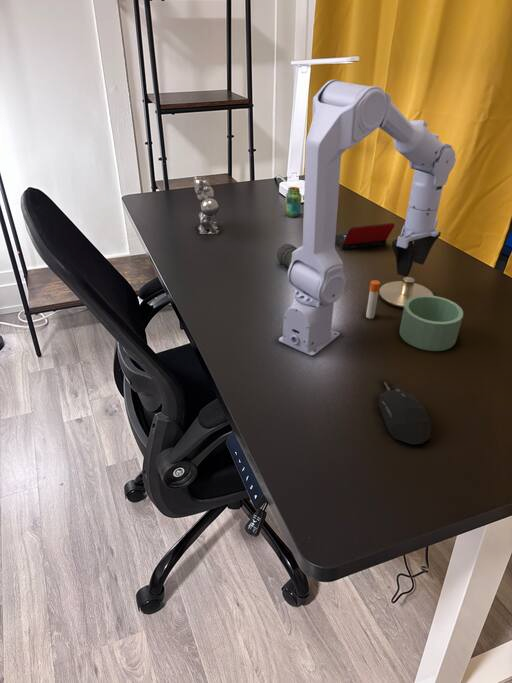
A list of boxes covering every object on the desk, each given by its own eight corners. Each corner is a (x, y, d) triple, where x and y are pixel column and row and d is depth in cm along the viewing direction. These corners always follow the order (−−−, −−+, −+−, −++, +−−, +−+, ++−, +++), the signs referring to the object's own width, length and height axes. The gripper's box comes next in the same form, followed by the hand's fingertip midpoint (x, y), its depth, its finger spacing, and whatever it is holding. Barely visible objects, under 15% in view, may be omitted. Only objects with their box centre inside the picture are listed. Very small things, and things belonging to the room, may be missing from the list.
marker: (371, 320, 102) (377, 285, 98) (363, 316, 103) (368, 282, 99) (376, 316, 104) (381, 281, 99) (368, 313, 105) (373, 279, 100)
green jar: (282, 213, 152) (283, 187, 148) (295, 211, 154) (296, 185, 150) (289, 218, 149) (290, 191, 145) (303, 216, 151) (304, 189, 146)
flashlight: (274, 264, 124) (274, 243, 121) (293, 260, 126) (294, 239, 123) (305, 290, 112) (306, 269, 109) (325, 286, 114) (327, 264, 111)
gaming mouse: (402, 382, 86) (406, 363, 84) (436, 446, 74) (442, 426, 71) (366, 384, 85) (369, 366, 83) (395, 449, 73) (399, 429, 71)
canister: (442, 358, 92) (449, 330, 88) (389, 337, 97) (394, 310, 94) (464, 333, 98) (471, 307, 95) (413, 315, 104) (419, 289, 101)
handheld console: (373, 234, 139) (377, 208, 135) (391, 250, 131) (396, 223, 127) (331, 239, 137) (333, 212, 133) (346, 255, 128) (350, 227, 124)
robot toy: (223, 241, 135) (221, 186, 127) (200, 243, 134) (197, 187, 126) (215, 221, 147) (213, 169, 139) (194, 223, 146) (191, 171, 137)
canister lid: (418, 317, 103) (423, 298, 101) (368, 299, 109) (371, 281, 107) (441, 296, 111) (446, 278, 108) (393, 280, 117) (396, 262, 114)
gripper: (427, 220, 92) (413, 286, 99) (457, 201, 101) (442, 262, 109) (391, 212, 95) (381, 276, 103) (424, 193, 105) (412, 254, 112)
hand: (410, 268), depth 106 cm, fingers open, 7 cm apart
